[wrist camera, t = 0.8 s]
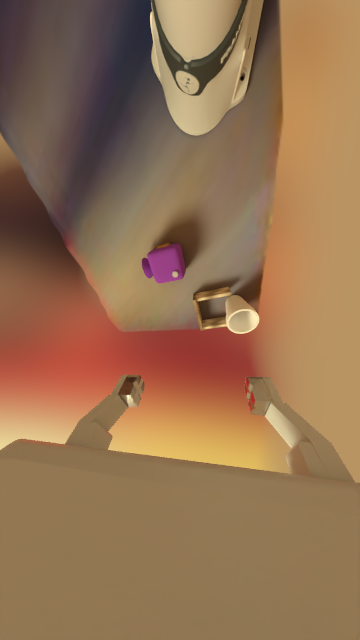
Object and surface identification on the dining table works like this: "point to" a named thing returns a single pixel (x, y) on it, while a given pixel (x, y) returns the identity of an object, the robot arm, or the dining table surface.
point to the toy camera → (165, 263)
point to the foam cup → (240, 315)
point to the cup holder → (204, 296)
